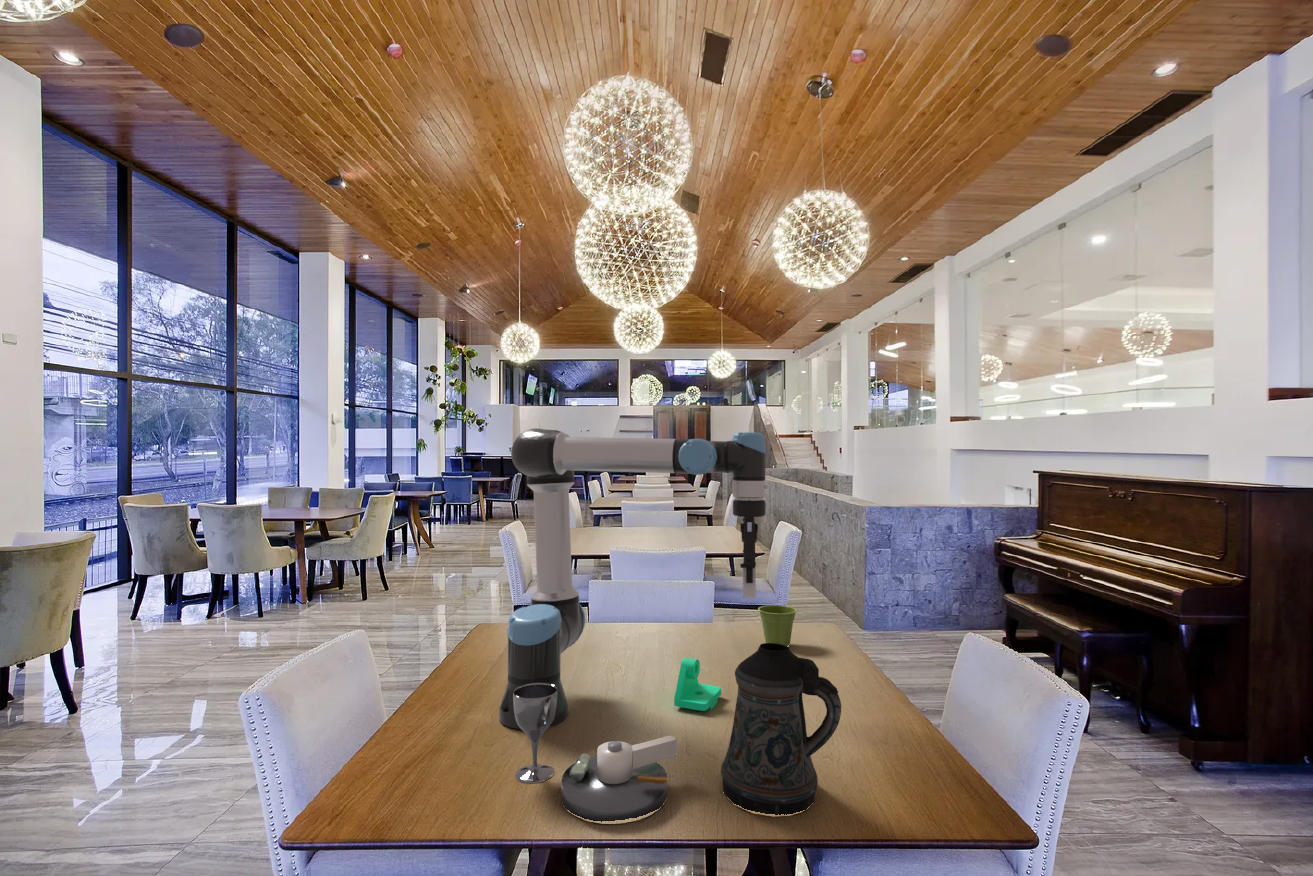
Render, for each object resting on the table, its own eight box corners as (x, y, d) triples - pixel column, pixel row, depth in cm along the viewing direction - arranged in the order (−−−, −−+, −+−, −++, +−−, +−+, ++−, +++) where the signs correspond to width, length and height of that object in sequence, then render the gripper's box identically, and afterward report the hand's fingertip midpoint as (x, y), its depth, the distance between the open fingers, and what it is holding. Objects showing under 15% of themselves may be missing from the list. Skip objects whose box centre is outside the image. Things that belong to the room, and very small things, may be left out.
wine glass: (537, 759, 122) (538, 679, 122) (565, 772, 117) (566, 689, 117) (503, 775, 115) (504, 691, 116) (531, 789, 110) (532, 702, 111)
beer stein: (713, 770, 117) (713, 633, 118) (816, 767, 119) (815, 631, 120) (730, 821, 101) (730, 662, 102) (849, 816, 102) (848, 659, 103)
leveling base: (547, 819, 101) (547, 785, 101) (577, 766, 119) (578, 736, 119) (659, 829, 98) (659, 794, 99) (673, 773, 116) (673, 743, 116)
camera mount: (705, 716, 143) (705, 670, 143) (674, 710, 146) (674, 665, 146) (722, 698, 154) (722, 655, 154) (692, 693, 157) (692, 651, 157)
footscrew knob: (607, 787, 105) (607, 755, 105) (591, 772, 110) (591, 741, 110) (682, 764, 113) (682, 735, 113) (664, 751, 118) (664, 723, 118)
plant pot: (802, 644, 198) (802, 607, 198) (789, 654, 188) (788, 615, 188) (766, 638, 204) (766, 603, 205) (751, 647, 194) (751, 610, 195)
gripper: (767, 502, 135) (767, 603, 134) (763, 496, 159) (763, 581, 159) (732, 502, 136) (731, 602, 135) (733, 495, 160) (733, 580, 160)
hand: (748, 591), depth 147 cm, fingers open, 13 cm apart
